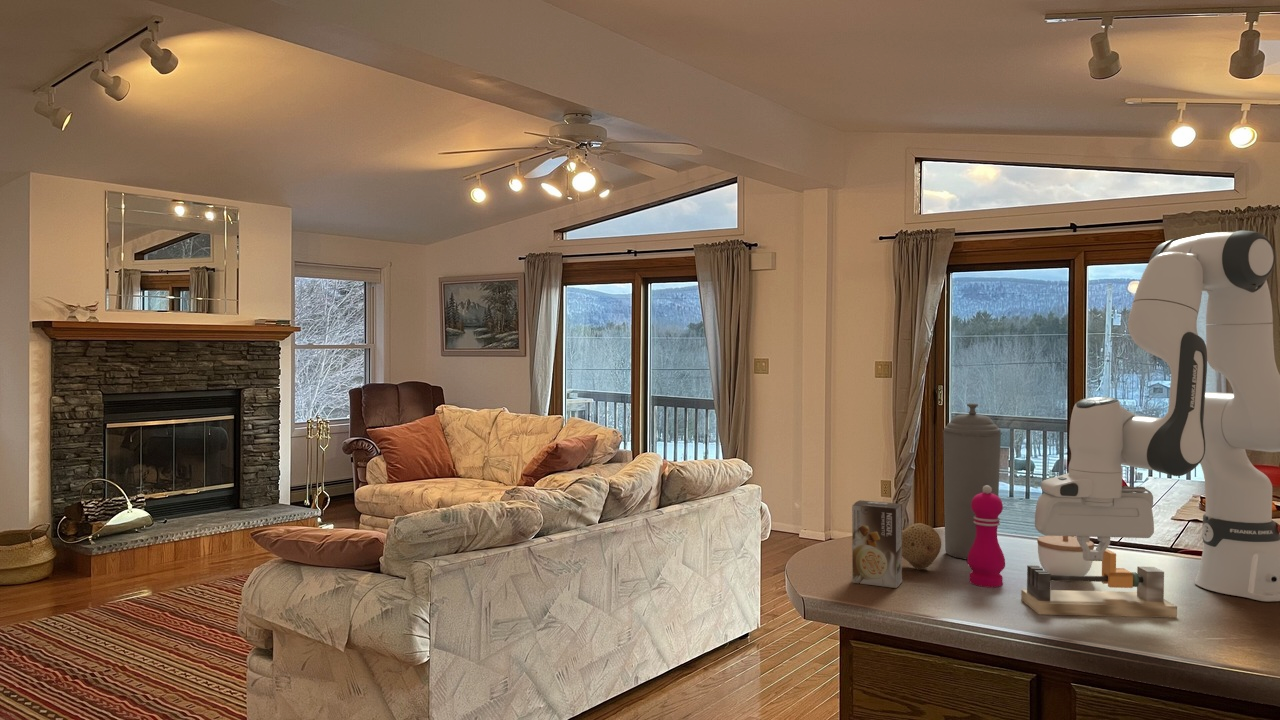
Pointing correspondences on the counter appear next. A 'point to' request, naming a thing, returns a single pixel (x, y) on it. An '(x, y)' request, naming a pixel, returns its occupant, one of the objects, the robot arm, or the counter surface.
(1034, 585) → the cord board
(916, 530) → the natural sponge
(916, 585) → the counter surface
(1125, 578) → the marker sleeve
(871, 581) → the coffee box
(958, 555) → the canister
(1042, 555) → the lidded jar
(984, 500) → the pepper mill
